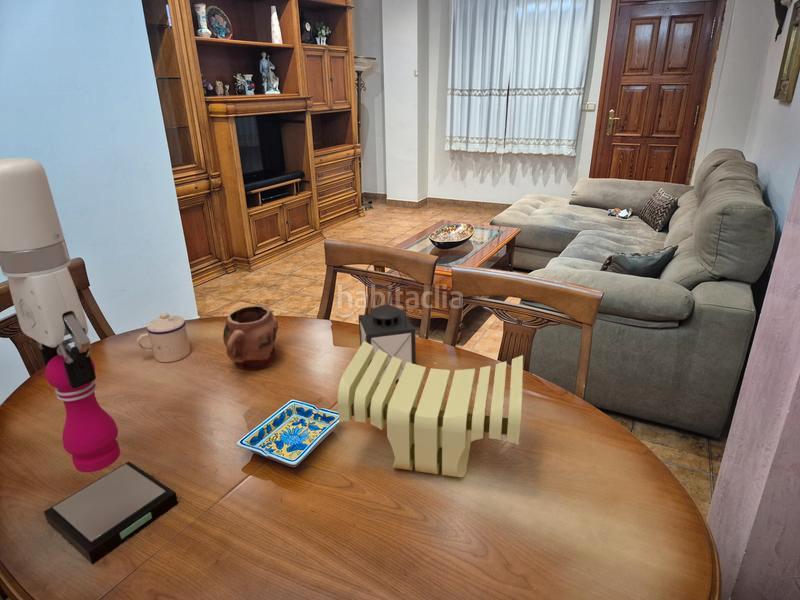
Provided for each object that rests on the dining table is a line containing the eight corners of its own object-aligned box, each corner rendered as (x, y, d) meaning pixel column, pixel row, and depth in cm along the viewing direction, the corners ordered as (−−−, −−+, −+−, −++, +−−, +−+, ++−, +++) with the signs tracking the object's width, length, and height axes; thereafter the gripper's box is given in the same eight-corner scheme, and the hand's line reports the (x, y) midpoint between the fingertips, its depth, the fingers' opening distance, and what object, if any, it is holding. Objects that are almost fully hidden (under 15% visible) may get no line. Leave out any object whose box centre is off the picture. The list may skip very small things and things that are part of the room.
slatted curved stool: (343, 469, 92) (336, 384, 85) (368, 417, 106) (364, 340, 99) (514, 495, 85) (521, 405, 78) (516, 435, 99) (523, 355, 92)
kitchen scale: (92, 564, 74) (87, 549, 73) (47, 523, 82) (42, 508, 80) (178, 503, 85) (175, 489, 84) (131, 471, 92) (128, 458, 91)
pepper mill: (115, 438, 84) (83, 328, 76) (130, 458, 79) (98, 344, 71) (65, 459, 79) (26, 344, 71) (78, 482, 74) (38, 362, 67)
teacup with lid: (189, 343, 138) (181, 304, 134) (193, 358, 131) (185, 316, 126) (140, 354, 133) (130, 313, 129) (142, 369, 126) (131, 327, 121)
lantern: (360, 363, 126) (354, 255, 115) (404, 357, 129) (402, 251, 118) (369, 387, 116) (362, 272, 105) (416, 380, 119) (414, 266, 108)
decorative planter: (263, 388, 117) (255, 333, 112) (212, 385, 118) (202, 332, 113) (290, 346, 135) (284, 298, 130) (246, 345, 137) (238, 297, 131)
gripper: (-26, 254, 68) (16, 371, 75) (32, 277, 59) (74, 408, 66) (36, 240, 74) (70, 351, 81) (98, 260, 65) (130, 382, 72)
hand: (71, 375), depth 73 cm, fingers closed on pepper mill, 6 cm apart
